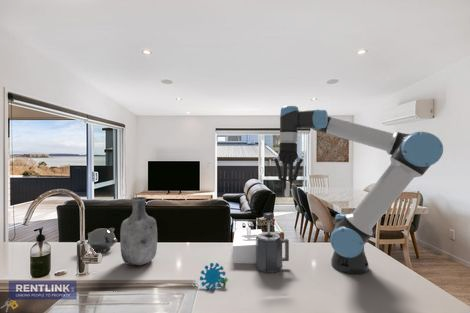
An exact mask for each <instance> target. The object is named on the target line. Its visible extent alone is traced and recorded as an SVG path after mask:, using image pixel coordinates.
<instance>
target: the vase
mask: <svg viewBox="0 0 470 313" xmlns="http://www.w3.org/2000/svg"><path fill="white" fill-rule="evenodd" d="M146 201H147V197H145V196H137V197H135V196H134V197H131V198H130V202H131V204H132V212H131V214H130V215H129V217H127V218H126V219H124V220H123V221H122V223H121V225H120V233H119V234H120V235H119V237H120V239H119V243H120V253H121V254H120V256H121V258H122V261H123V262H124V263H125V264H127V265H131V266H142V265H145V264H148V263H149V262H151V261H152V260H154V258H155V256H156V255H157V250H158V225H157V220H156V218H154V217H153V216H150V215H148V213H147V212H146Z"/></svg>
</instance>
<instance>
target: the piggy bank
mask: <svg viewBox="0 0 470 313" xmlns="http://www.w3.org/2000/svg"><path fill="white" fill-rule="evenodd" d="M115 229H116V228H114V227H110V228H96V229H94V230H92V231H90V232H88V233H87V236H88V238H87V240H88V241H89V243H88V245H89V247H90V249H92V248H93V249H94V251H95V252H96V253H97V252H98V251H100V252H101V253H102V254H105V253H106V252H107V250H111V249H112V248H111V247H114V245H115V244H116V243H118V239H117V238H116V236H115V233H114V231H115ZM93 249H92V250H93Z"/></svg>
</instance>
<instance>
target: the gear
mask: <svg viewBox="0 0 470 313" xmlns="http://www.w3.org/2000/svg"><path fill="white" fill-rule="evenodd" d="M204 269H205V270H201V271H200V274H201V276H200V277H199V280H200V281H202V282H201V286H202V287H204V286H205V289H206V290H210V288H211V290H213V291H215V290H216V286H217V288H221V287H222V285H226V284H227V282H229V281H228V280H229V279H228V277H225V276H226V271H224V267H223V265H221V266H220V264H219V263H218V262H216V263H215V264H214V262H210V263H209V266H208V265H205V266H204ZM220 270H221V271H220ZM205 271H206V272H205ZM202 275H203V276H204V277H203V276H202ZM221 275H222V276H221ZM207 284H208V285H207Z"/></svg>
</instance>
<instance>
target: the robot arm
mask: <svg viewBox="0 0 470 313" xmlns="http://www.w3.org/2000/svg"><path fill="white" fill-rule="evenodd" d="M298 129H311V130H313V131H315V132H320V133H323V134H328V135H331V136H334V137H338V138H341V139H344V140H347V141H352V142H355V143H358V144H362V145H365V146H368V147H372V148H375V149H378V150H382V151H385V152H386V153H387V155H389V156H390V165H389V166H388V167H387V169H385V171H384V172H383V173H382V175H381V176H380V177H379V179H377V181H376V182H375V184H374V185H373V186H372V187H371V189H370V190H369V191H368V192H367V194H366V195H365V196H364V197H363V198H362V200H361V202H359V204H358V205H357V206H356V208H355V209H354V210H353V212H351V213H337V214H335V218H334V221H335V227H334V228H333V230H332V231H331V232H330V233H331V234H330V238H329V240H330V241H329V242H330V244H331V247H332V249H333V253H332V257H331V260H330V261H331V263H330V264H331V266H332V267H333V268H334V269H335V270H337V271H340V272H343V273H346V274H351V275H363V274H366V273H367V272H369V268H370V266H369V262H368V259H367V256H366V253H365V245H366V243H368V241H369V240H370V239H371V237H372V236H373V235H374V232H373V228H374V227H375V225H376V224H377V223H378V222H379V221H380V219H382V217H383V216H384V214H385V213H386V212H387V211H388V210H389V209H390V208H391V206H392V205H393V204H394V202H395V201H397V199H398V198H399V197H400V195H401V194H402V193H403V192H404V190H406V188H407V187H408V186H409V185H410V183H411V182H413V180H414V178H418V177H423V175H425V173H426V172H427V171H428V170H429V168H430V167H431V166H432V165H435V164H436V163H437V162H439V161H440V159H441V158H442V156H443V154H444V146H443V145H444V144H443V143H442V142H443V141H441V139H440V138H439V137H438V136H436V135H435V134H433V133H430V132H428V131H415V132H413V133H404V132H400V131H399V132H398V131H396V132H393V133H392V132H389V131H386V130H381V129H378V128H374V127H370V126H366V125H362V124H358V123H354V122H351V121H347V120H345V119H344V120H343V119H339V118H335V117H332V116H330V115H328V111H327V110H326V109H315V110H314V109H313V110H299V107H298V106H296V105H285V106H282V107H281V109H280V116H279V142H280V143H279V147H278V148H279V152H278V154H277V156H276V157H273V158H272V159H273V162H274V164H275V168H276V174H277V177H278V180H280V181H282V189H283V190H284V197H286V198H290V196H291V195H290V192H291V191H290V190H293V189H292V188H293V182H294V181H297V179H298V175H299V172H300V168H301V165H302V163H303V161H304V159H303V158H300V156H299V155H298V143H297V142H298ZM280 162H281V163H282V170H281V166H280ZM295 162H296V163H295ZM294 163H295V167H294ZM293 169H294V170H293ZM287 170H288V171H287ZM287 179H288V181H287Z"/></svg>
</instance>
